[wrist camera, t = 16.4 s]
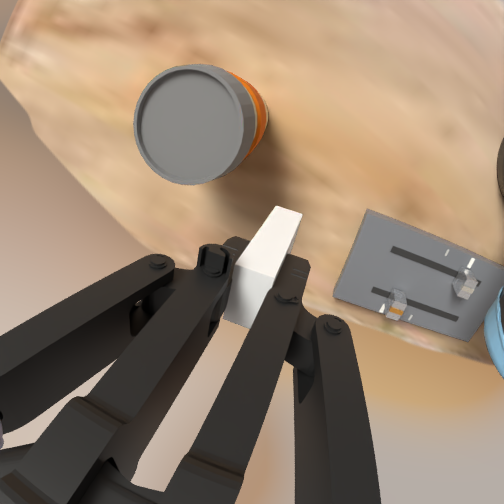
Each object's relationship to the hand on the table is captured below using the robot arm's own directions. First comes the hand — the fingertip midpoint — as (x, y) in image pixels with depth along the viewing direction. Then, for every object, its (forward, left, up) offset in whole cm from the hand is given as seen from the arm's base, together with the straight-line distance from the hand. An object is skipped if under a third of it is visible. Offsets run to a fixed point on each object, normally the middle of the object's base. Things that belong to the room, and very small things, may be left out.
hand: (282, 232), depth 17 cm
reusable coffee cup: (+10, -8, -27) cm, 30 cm away
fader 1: (-7, +22, -24) cm, 33 cm away
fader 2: (-17, +20, -24) cm, 36 cm away
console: (-12, +21, -26) cm, 36 cm away
